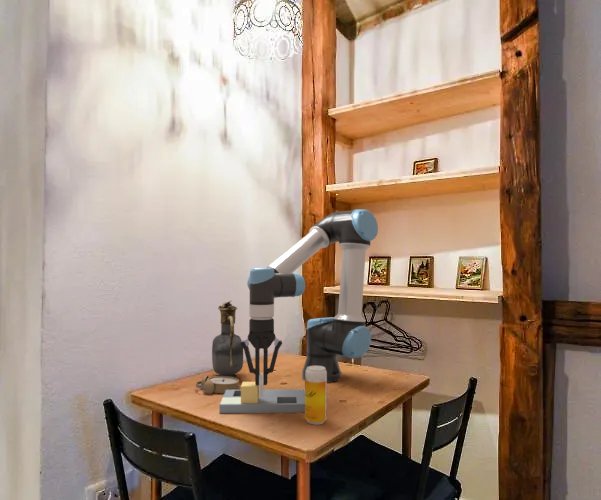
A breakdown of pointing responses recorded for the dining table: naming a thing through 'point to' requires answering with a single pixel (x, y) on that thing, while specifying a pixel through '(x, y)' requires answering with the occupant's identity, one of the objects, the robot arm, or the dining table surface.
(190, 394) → the dining table surface
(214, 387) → the alarm clock
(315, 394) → the beer can
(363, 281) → the robot arm
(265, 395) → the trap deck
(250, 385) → the block
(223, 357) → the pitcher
